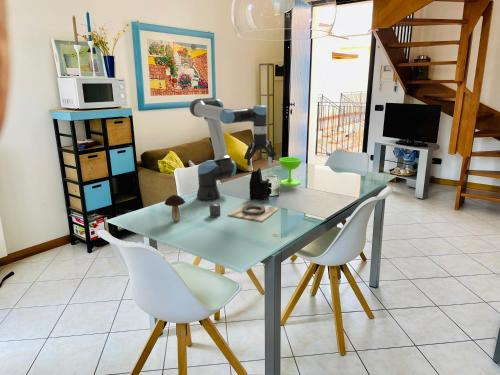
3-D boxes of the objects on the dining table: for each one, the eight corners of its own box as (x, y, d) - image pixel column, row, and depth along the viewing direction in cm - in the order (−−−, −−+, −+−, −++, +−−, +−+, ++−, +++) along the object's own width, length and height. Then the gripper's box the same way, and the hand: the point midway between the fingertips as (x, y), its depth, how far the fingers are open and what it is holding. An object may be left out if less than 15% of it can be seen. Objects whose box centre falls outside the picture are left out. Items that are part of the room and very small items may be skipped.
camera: (270, 201, 226) (270, 170, 220) (249, 200, 228) (248, 169, 223) (272, 196, 235) (272, 166, 229) (252, 195, 238) (251, 166, 232)
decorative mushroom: (177, 216, 204) (175, 191, 199) (190, 220, 197) (188, 194, 193) (162, 222, 195) (159, 195, 191) (175, 226, 189) (172, 199, 184)
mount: (227, 215, 203) (227, 212, 202) (246, 204, 221) (246, 200, 221) (262, 222, 193) (262, 218, 192) (279, 209, 211) (279, 205, 210)
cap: (207, 216, 203) (207, 205, 201) (213, 212, 208) (213, 202, 206) (216, 217, 200) (216, 207, 199) (222, 214, 205) (222, 204, 204)
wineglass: (301, 185, 258) (302, 161, 253) (279, 186, 258) (279, 161, 253) (299, 180, 273) (299, 156, 268) (278, 180, 273) (278, 157, 268)
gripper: (244, 135, 195) (244, 173, 201) (281, 132, 207) (281, 167, 213) (237, 134, 202) (238, 170, 208) (274, 130, 213) (274, 165, 219)
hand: (260, 169), depth 210 cm, fingers open, 13 cm apart
